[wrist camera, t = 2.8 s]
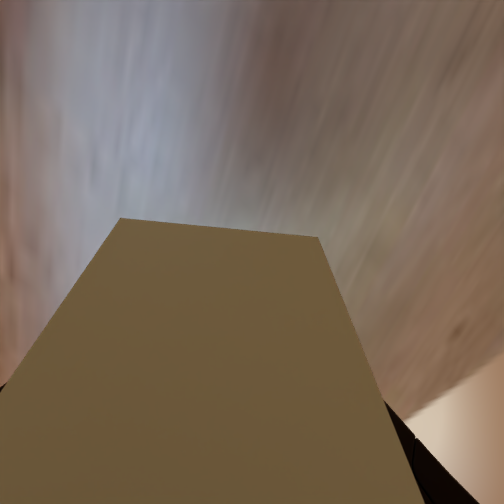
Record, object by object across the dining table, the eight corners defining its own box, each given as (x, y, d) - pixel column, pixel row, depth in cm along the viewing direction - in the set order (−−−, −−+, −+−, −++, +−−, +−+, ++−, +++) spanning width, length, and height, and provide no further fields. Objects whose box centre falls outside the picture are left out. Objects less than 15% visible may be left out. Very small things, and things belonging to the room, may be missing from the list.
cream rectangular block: (284, 366, 12) (324, 658, 6) (132, 356, 11) (26, 663, 6) (317, 237, 9) (442, 546, 4) (120, 218, 9) (-102, 541, 3)
